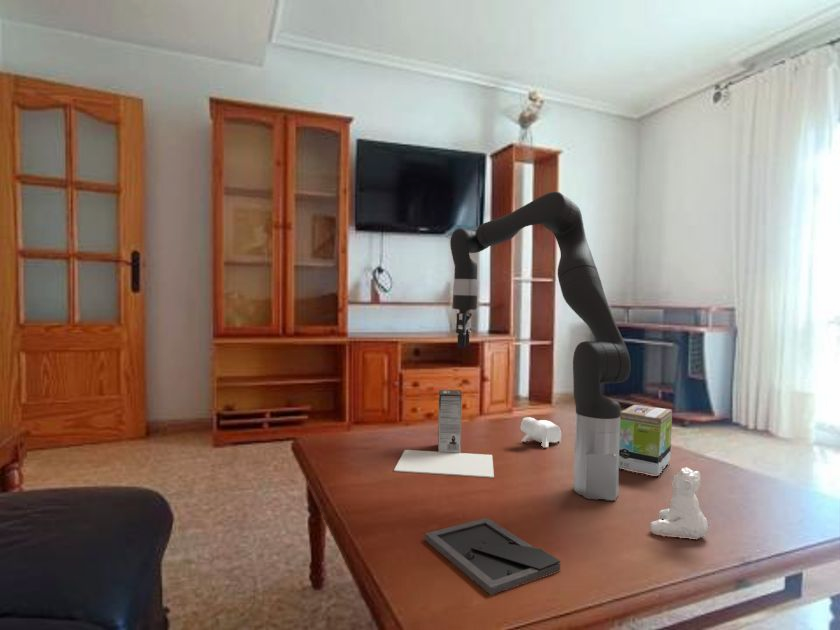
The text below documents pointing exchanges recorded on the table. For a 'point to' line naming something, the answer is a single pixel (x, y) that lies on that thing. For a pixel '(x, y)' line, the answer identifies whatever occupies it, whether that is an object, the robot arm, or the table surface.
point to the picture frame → (492, 555)
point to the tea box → (645, 439)
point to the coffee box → (449, 421)
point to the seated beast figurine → (683, 509)
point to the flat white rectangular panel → (446, 463)
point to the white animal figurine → (540, 431)
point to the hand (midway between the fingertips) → (463, 346)
